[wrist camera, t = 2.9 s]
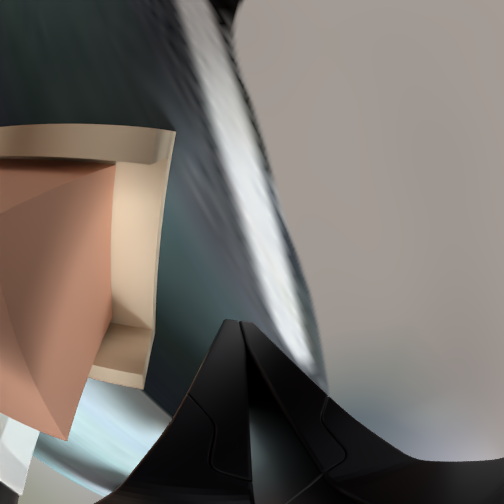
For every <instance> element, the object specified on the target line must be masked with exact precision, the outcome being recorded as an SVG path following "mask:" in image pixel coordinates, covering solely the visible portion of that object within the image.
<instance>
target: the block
mask: <svg viewBox="0 0 504 504" xmlns="http://www.w3.org/2000/svg"><path fill="white" fill-rule="evenodd" d="M115 170H116V165H114V164H103V163H91V162H78V161H61V160H37V159H0V413H2V414H4V415H6V416H8V417H10V418H12V419H14V420H16V421H18V422H20V423H22V424H24V425H27V426H29V427H31V428H33V429H36V430H38V431H41V432H43V433H46V434H48V435H51V436H53V437H56V438H59V439H62V440H64V441H67V439H68V436H69V432H70V429H71V426H72V422H73V419H74V416H75V413H76V410H77V406H78V403H79V400H80V398H81V395H82V392H83V389H84V386H85V383H86V381H87V378H88V375H89V372H90V370H91V367H92V365H93V362H94V360H95V357H96V354H97V352H98V350H99V347H100V345H101V342H102V340H103V338H104V335H105V333H106V331H107V328H108V326H109V324H110V321H111V319H112V317H113V312H112V295H111V219H112V203H113V190H114V180H115Z"/></svg>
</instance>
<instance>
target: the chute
mask: <svg viewBox="0 0 504 504" xmlns="http://www.w3.org/2000/svg"><path fill="white" fill-rule="evenodd" d="M175 136H176V132H175V131H169V130H163V129H156V128H146V127H135V126H121V125H104V124H33V125H17V126H5V127H0V159H37V160H61V161H78V162H91V163H103V164H114V165H116V170H115V180H114V190H113V203H112V219H111V295H112V312H113V317H112V319H111V321H110V324H109V326H108V328H107V331H106V333H105V335H104V338H103V340H102V342H101V345H100V347H99V350H98V352H97V354H96V357H95V360H94V362H93V365H92V367H91V370H90V372H89V375H88V378H91V379H95V380H99V381H103V382H108V383H112V384H117V385H122V386H127V387H132V388H137V389H143V390H144V384H145V379H146V374H147V369H148V364H149V359H150V354H151V349H152V344H153V340H154V335H155V318H156V293H157V276H158V262H159V250H160V239H161V229H162V220H163V212H164V204H165V196H166V189H167V182H168V176H169V169H170V163H171V157H172V152H173V146H174V141H175Z"/></svg>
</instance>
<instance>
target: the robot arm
mask: <svg viewBox="0 0 504 504" xmlns="http://www.w3.org/2000/svg"><path fill="white" fill-rule="evenodd" d="M327 396H328V395H327V394H326V393H325V392H324V391H323V390H322V389H321V388H320V387H318V386H317V385H316V384H315V383H314V382H313V381H312V380H311V379H310V378H309V377H308V376H307V375H306V374H305V373H304V372H303V371H302V370H301V369H300V368H299V367H298V366H297V365H296V364H295V363H294V362H292V361H291V360H290V359H289V358H288V357H287V356H286V355H285V354H284V353H283V352H282V351H281V350H280V349H279V348H278V347H277V346H276V345H275V344H274V343H273V342H272V341H271V340H270V339H269V338H268V337H267V336H266V335H265V334H264V333H263V331H262V330H261V329H260V328H259V327H258V326H257V325H256V324H255V323H253V322H248V321H240V322H238V321H237V320H228V319H225V320H224V321H223V323H222V325H221V327H220V329H219V331H218V333H217V335H216V337H215V338H214V340H213V342H212V344H211V346H210V348H209V350H208V352H207V354H206V356H205V358H204V360H203V362H202V364H201V366H200V368H199V370H198V372H197V374H196V376H195V378H194V380H193V382H192V384H191V385H190V387H189V389H188V391H187V393H186V395H185V397H184V399H183V401H182V402H181V404H180V406H179V408H178V410H177V412H176V413H175V415H174V417H173V418H172V420H171V422H170V423H169V425H168V426H167V427H166V429H165V430H164V432H163V433H162V435H161V436H160V437H159V439H158V440H157V441H156V443H155V444H154V445H153V446H152V448H151V449H150V450H149V451H148V453H147V454H146V455H145V456H144V458H143V459H142V460H141V461H140V463H139V464H138V465H137V466H136V468H135V469H134V470H133V471H132V473H131V474H130V475H129V476H128V477H127V478H126V479H125V480H124V482H123V483H122V484H121V485H120V486H118V487H117V488H116V489H115V490H114V491H113V492H112V493H110V494H109V495H107V496H106V497H104V498H103V499H101V500H99V501H98V502H96V503H94V504H504V458H500V459H495V460H485V461H463V462H443V461H442V462H441V461H424V460H419V459H416V458H412V457H411V456H408V455H406V454H404V453H403V452H401V451H400V450H398V449H397V448H395V447H394V446H392V445H391V444H389V443H388V442H386V441H385V440H383V439H382V438H380V437H379V436H377V435H376V434H375V433H373V432H372V431H370V430H369V429H367V428H366V427H365V426H364V425H362V424H361V423H360V422H358V421H357V420H355V419H354V418H353V417H352V416H351V415H349V414H348V413H347V412H346V411H345V410H344V409H342V408H341V407H340V406H339V405H338V404H337V403H336V402H334V400H332V399H331V398H330V397H327Z"/></svg>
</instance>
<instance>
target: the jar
mask: <svg viewBox="0 0 504 504" xmlns="http://www.w3.org/2000/svg"><path fill="white" fill-rule="evenodd" d="M39 433H40V431H38V430H36V429H33V428H31V427H29V426H27V425H24V424H22V423H20V422H18V421H16V420H14V419H12V418H10V417H8V416H6V415H4V414H2V413H0V504H18V498H19V495H22V494H23V489H24V485H25V481H26V477H27V473H28V469H29V466H30V462H31V458H32V455H33V452H34V448H35V445H36V442H37V439H38V436H39ZM18 494H19V495H18Z"/></svg>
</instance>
